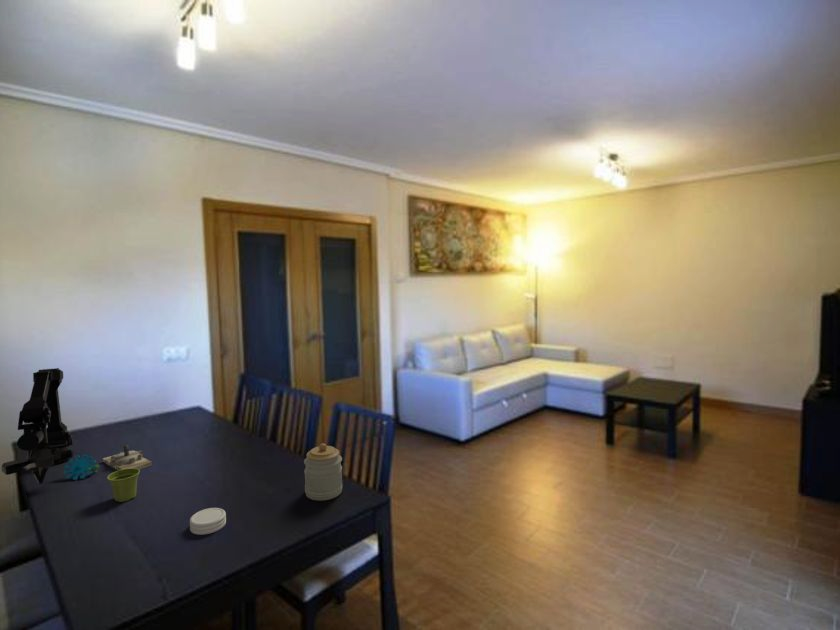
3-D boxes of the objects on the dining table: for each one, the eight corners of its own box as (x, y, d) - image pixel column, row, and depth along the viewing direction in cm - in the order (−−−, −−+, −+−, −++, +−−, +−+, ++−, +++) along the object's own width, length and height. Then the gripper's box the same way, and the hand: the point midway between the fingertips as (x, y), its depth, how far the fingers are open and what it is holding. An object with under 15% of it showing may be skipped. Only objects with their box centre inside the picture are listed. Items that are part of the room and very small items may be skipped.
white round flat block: (188, 538, 132) (188, 527, 132) (191, 521, 141) (190, 511, 141) (226, 531, 136) (225, 519, 136) (226, 514, 145) (225, 504, 145)
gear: (58, 478, 167) (69, 452, 174) (63, 484, 172) (74, 459, 178) (92, 479, 170) (102, 453, 176) (96, 485, 174) (106, 460, 181)
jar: (349, 487, 163) (348, 439, 162) (330, 504, 151) (329, 452, 150) (317, 481, 168) (316, 435, 166) (297, 498, 155) (295, 448, 154)
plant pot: (106, 507, 150) (105, 482, 149) (111, 495, 158) (109, 471, 157) (140, 501, 154) (138, 476, 153) (142, 489, 162) (141, 465, 161)
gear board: (101, 462, 186) (100, 444, 185) (131, 453, 195) (130, 436, 194) (122, 474, 174) (121, 455, 173) (153, 464, 183) (152, 446, 182)
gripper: (9, 454, 148) (13, 500, 149) (77, 437, 163) (80, 479, 164) (-1, 447, 154) (3, 491, 156) (65, 431, 169) (68, 472, 171)
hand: (40, 483), depth 161 cm, fingers closed
